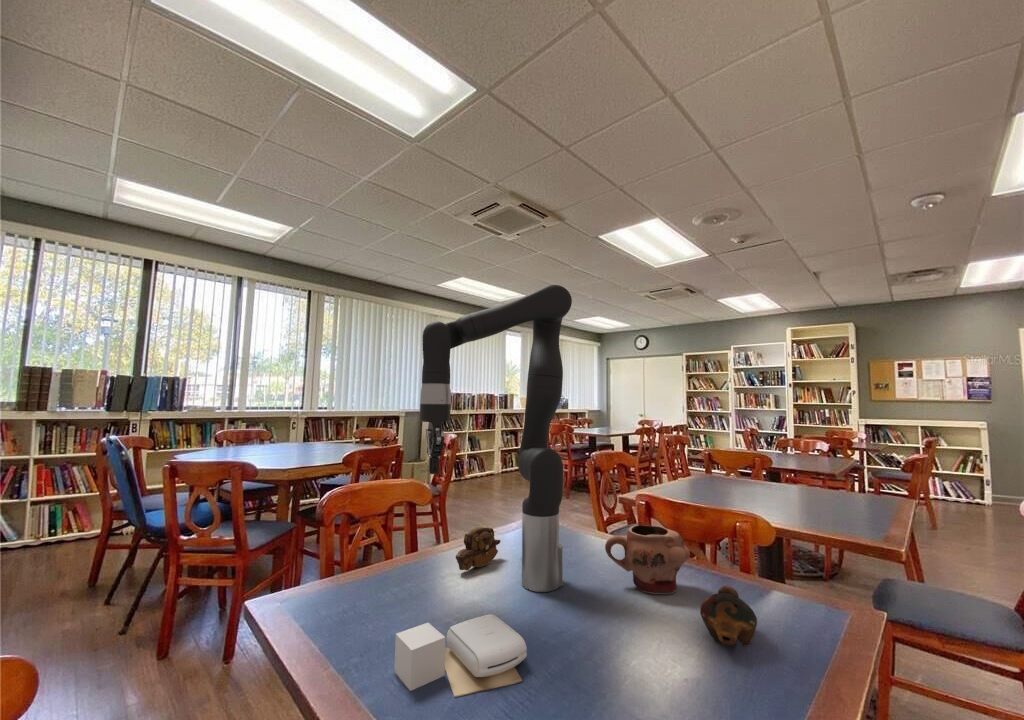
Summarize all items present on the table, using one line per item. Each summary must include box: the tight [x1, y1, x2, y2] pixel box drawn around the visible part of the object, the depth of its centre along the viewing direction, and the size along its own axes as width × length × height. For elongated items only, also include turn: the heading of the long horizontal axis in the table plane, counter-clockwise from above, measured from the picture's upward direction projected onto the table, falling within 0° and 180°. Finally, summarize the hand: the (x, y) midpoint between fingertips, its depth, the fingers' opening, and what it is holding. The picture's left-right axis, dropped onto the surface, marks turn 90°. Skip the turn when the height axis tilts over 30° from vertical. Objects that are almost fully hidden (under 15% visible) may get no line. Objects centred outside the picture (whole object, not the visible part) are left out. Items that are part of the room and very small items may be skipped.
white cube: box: [393, 622, 446, 691], centre depth 69 cm, size 6×6×6 cm
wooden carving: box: [455, 526, 501, 571], centre depth 115 cm, size 16×5×10 cm, turn 148°
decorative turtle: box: [699, 585, 758, 647], centre depth 80 cm, size 10×15×8 cm, turn 156°
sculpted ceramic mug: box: [604, 524, 691, 595], centre depth 103 cm, size 20×12×14 cm, turn 89°
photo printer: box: [445, 613, 528, 677], centre depth 73 cm, size 10×4×12 cm
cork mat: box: [444, 646, 523, 698], centre depth 71 cm, size 11×13×1 cm
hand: (433, 473), depth 103 cm, fingers closed
